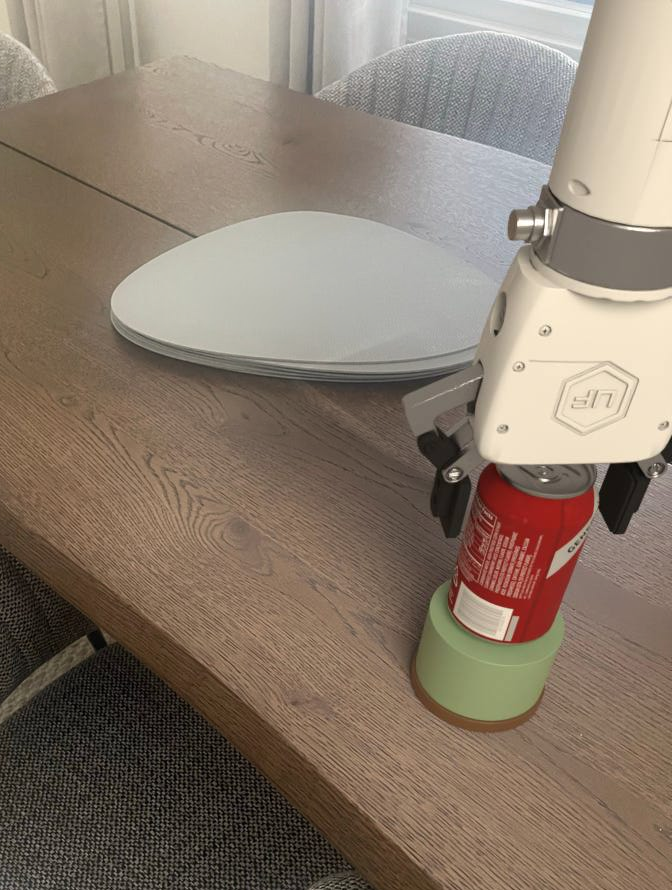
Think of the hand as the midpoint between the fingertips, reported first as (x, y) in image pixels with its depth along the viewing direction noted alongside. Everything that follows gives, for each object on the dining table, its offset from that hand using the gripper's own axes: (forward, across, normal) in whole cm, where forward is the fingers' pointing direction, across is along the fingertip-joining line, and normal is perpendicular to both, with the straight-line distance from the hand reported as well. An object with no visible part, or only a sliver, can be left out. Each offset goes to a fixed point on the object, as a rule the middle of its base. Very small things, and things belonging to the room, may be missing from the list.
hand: (527, 521), depth 57 cm
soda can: (+8, 0, 0) cm, 8 cm away
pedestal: (+14, 0, 0) cm, 14 cm away
